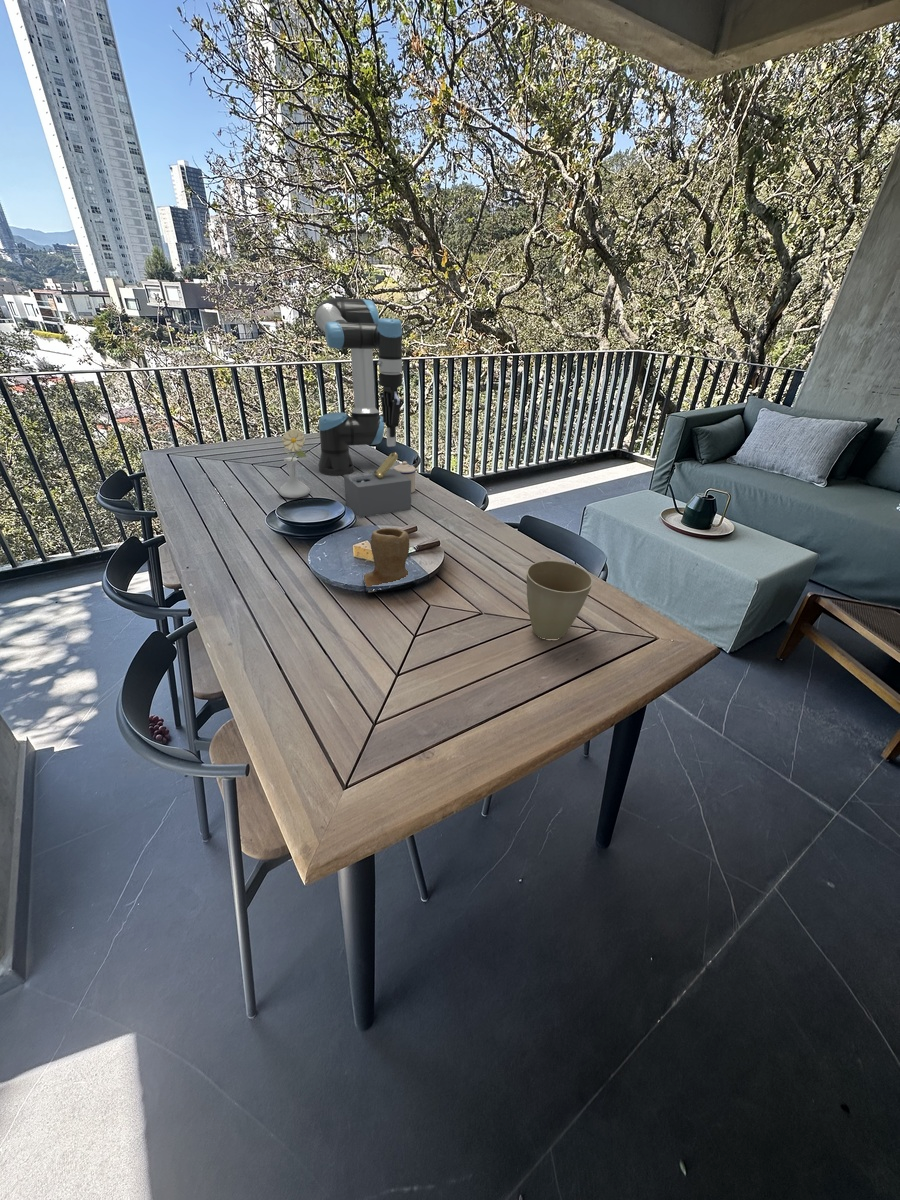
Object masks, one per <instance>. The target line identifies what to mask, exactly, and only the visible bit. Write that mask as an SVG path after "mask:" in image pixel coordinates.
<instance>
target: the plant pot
mask: <svg viewBox="0 0 900 1200" xmlns="http://www.w3.org/2000/svg"><path fill="white" fill-rule="evenodd" d="M593 584H594V580H593V577H592V575H591V574H590V573H589V572H588V571H586V570H585V569H584V568H582V567H580V566H578V565H575V564H573V563H569V562H565V561H560V560H559V561H558V560H541V561H536V562H534V563H532V564H531V565H529V566H528V567H527V570H526V597H527V599H526V601H527V607H528V615H529V620H530V625H531V629H532V633H533V634H534V633H535V634H536V635H537V636H539V637H541V638H545V639H558V638H561V637H562V638H563V637H564V636H565V634H567V632H568V631H569V629H570V628H571V626H572V625H573V623H574V622H575V621H576V618H577V617H578V615H579V613H580V612H581V610H582V608H583V607H584V604H585V602H586V600H587V598H588V596H589V594H590V591H591V589H592V586H593ZM535 634H534V635H535ZM536 635H535V636H536ZM537 636H536V637H537ZM539 637H538V638H539ZM541 638H540V639H541ZM562 638H561V639H562Z"/></svg>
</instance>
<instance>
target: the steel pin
mask: <svg viewBox="0 0 900 1200" xmlns="http://www.w3.org/2000/svg"><path fill="white" fill-rule="evenodd" d="M367 472H368V473H364V472H359V473H360V474H356V473H351V474H352V475H349V480H350V481H351V482H356V481H357V483H359V482H366V480H371V479H373V474H372V473H370V472H371V471H367Z"/></svg>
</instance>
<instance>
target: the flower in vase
mask: <svg viewBox="0 0 900 1200" xmlns="http://www.w3.org/2000/svg"><path fill="white" fill-rule="evenodd" d="M281 442H282V445H283V448H284V449H285V450H283V449H282V451H283V452H284V453H286V454H288V455H289V456H291V457H285V458H283V460H282V461H283V462H285V464H286V466H287V469H288V480H287V481H286V482H285V483H283V484H282V485H281V487H279V488H278V494H279V495H280V496H282V497H284V498H288V499H297V498H298V499H299V498H303V497H305V496H308V495H309V493H310V492H311V489H310V488H309V486H308V485H306V484H305V483H304V482H302V481H300V480H299V479H298V478H297V476H296V464H297V462H298V458H307V454H306V453H305V452H304V451H303V450H302V449H303V447H304V445H305V443H306V438H305V436H304V433H303V432H302V431H301V430H300V431H299V430H298V429H295V428H292V429H288V431H285V432H284V434H283V436H282V439H281ZM286 450H287V451H286ZM289 451H290V452H293V453H294V454H293V455H292V454H291V453H290V452H289ZM295 455H297V457H298V458H297V457H295Z"/></svg>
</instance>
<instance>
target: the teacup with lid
mask: <svg viewBox="0 0 900 1200" xmlns="http://www.w3.org/2000/svg"><path fill="white" fill-rule="evenodd" d="M392 469H396V470H397V471H398V472H400V473H401V474H403V475H404V476H406V477H407V478H409V479H410V480H411V494H413V493H414V492H415V491H416V472H417V468H416V467H415V466H413V465H410V464H409V463H408V462H407V461H405V460H404V461H402V462H401V463H400V464H398V465H395V466H393V467H392Z"/></svg>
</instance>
